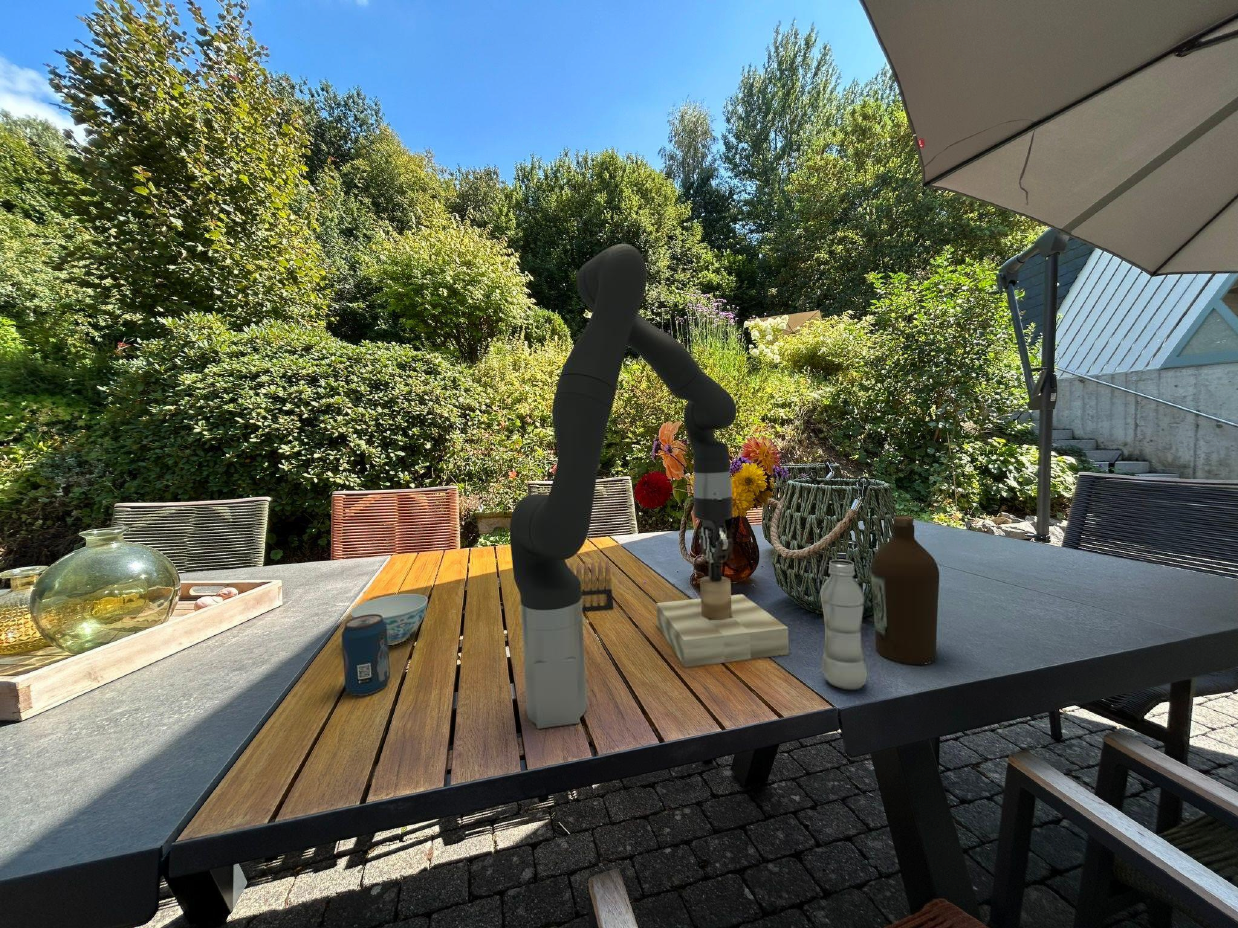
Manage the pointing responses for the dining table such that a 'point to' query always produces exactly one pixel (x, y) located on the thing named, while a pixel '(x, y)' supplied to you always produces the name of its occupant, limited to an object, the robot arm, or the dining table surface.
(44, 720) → the dining table surface
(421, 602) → the chinaware
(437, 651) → the dining table surface
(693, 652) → the board
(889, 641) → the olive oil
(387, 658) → the soda can
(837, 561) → the plastic bottle
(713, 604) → the peg
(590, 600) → the ammunition clip
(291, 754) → the dining table surface
